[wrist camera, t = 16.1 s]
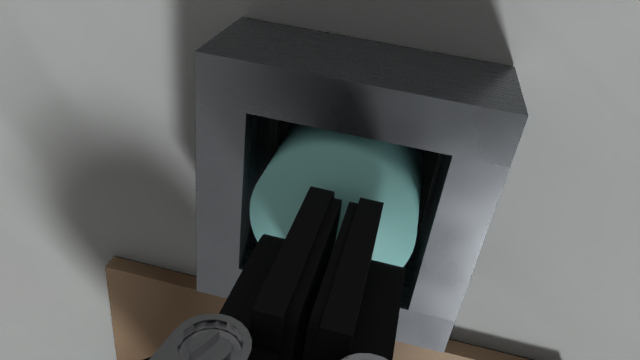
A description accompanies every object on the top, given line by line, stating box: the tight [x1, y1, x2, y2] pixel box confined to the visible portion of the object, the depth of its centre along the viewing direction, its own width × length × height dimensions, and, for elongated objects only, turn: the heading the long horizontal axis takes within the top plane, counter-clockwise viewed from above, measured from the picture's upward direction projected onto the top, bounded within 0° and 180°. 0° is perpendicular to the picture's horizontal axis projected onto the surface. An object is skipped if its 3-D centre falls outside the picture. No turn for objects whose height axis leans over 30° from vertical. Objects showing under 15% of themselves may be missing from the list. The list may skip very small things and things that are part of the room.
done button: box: [250, 123, 424, 267], centre depth 14 cm, size 4×4×3 cm
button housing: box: [195, 17, 528, 353], centre depth 14 cm, size 7×7×3 cm
